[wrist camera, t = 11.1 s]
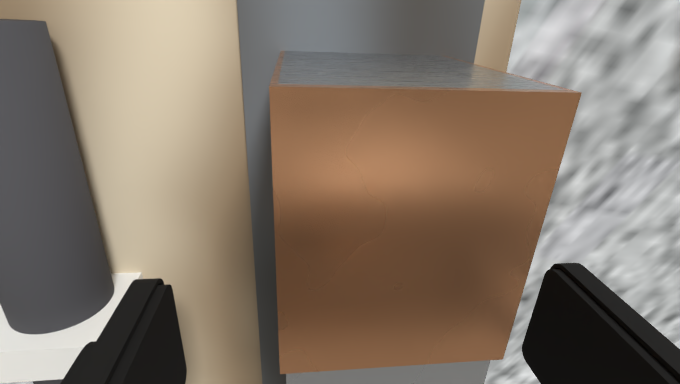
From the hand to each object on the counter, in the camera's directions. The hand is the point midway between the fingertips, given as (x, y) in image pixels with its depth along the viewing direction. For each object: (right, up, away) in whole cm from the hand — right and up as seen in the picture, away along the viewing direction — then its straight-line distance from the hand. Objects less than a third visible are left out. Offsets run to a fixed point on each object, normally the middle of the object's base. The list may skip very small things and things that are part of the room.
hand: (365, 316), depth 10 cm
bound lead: (-8, +2, +3) cm, 9 cm away
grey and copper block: (0, +1, +3) cm, 3 cm away
